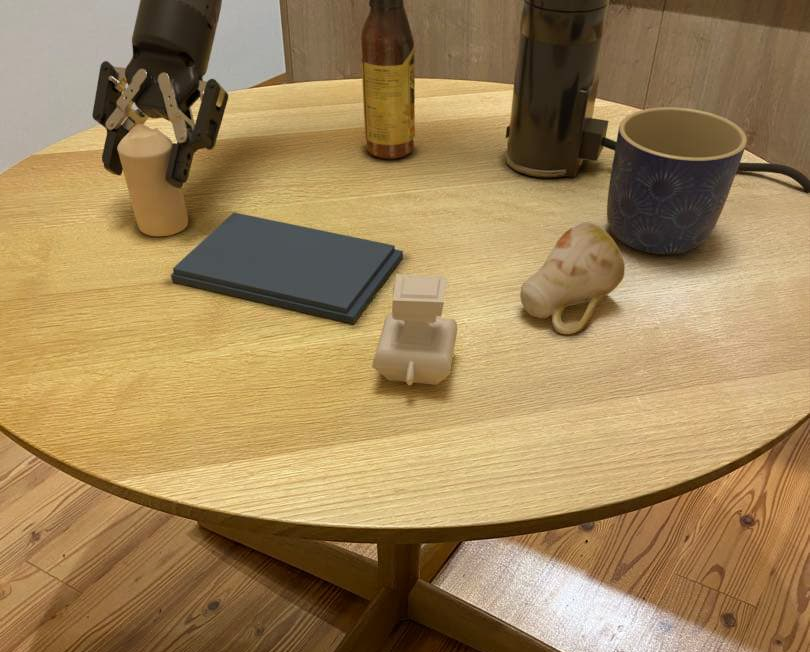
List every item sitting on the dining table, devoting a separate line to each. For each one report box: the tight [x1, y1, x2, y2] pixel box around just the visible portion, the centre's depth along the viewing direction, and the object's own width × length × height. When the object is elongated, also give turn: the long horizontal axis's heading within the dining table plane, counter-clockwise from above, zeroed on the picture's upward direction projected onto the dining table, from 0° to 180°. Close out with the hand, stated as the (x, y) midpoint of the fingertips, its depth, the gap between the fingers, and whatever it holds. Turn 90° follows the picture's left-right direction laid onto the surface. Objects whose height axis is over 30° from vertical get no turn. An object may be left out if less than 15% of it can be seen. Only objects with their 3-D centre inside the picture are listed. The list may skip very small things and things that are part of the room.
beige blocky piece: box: [372, 273, 458, 386], centre depth 68 cm, size 9×7×8 cm
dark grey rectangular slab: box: [170, 212, 404, 325], centre depth 81 cm, size 20×13×1 cm, turn 69°
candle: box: [117, 124, 189, 237], centre depth 84 cm, size 6×6×10 cm
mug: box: [519, 221, 626, 335], centre depth 76 cm, size 8×10×10 cm
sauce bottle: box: [360, 0, 416, 160], centre depth 93 cm, size 6×6×20 cm
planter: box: [606, 106, 748, 255], centre depth 82 cm, size 12×12×11 cm
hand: (142, 178), depth 82 cm, fingers open, 7 cm apart
